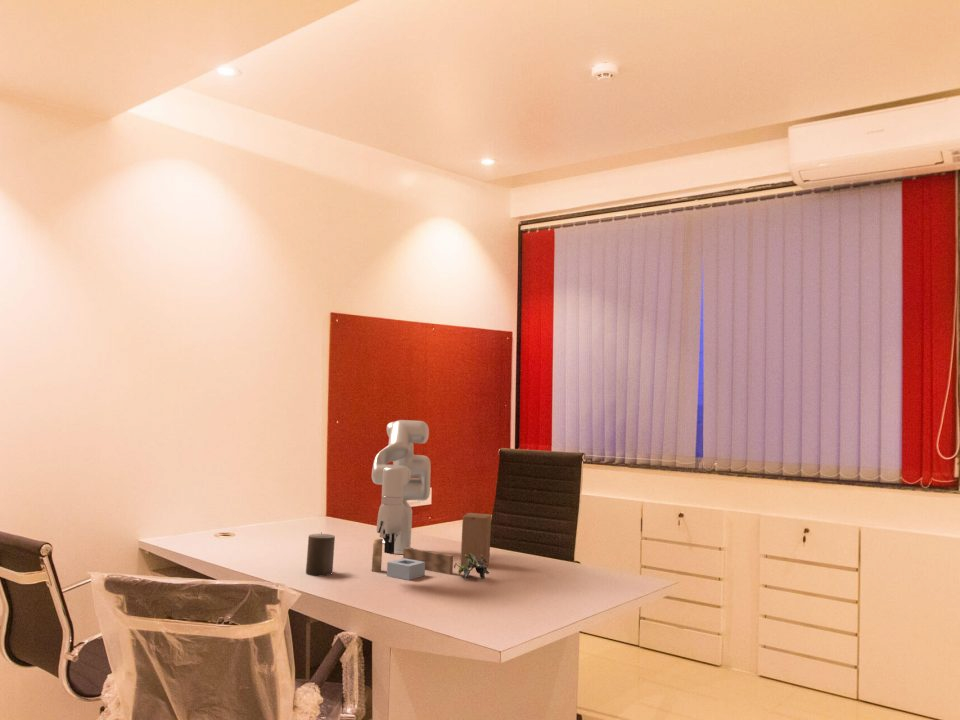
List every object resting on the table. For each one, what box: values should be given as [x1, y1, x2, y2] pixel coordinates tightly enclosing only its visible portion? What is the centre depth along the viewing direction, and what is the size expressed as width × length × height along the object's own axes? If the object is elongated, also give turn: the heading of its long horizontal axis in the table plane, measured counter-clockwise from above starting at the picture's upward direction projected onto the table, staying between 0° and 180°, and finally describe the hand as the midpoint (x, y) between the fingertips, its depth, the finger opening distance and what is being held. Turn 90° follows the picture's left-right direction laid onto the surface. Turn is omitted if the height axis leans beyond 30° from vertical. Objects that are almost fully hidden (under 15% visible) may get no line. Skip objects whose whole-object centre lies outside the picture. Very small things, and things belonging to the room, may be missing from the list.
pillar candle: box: [305, 532, 336, 576], centre depth 285 cm, size 10×10×15 cm
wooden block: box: [459, 512, 492, 568], centre depth 311 cm, size 10×10×20 cm
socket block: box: [386, 557, 426, 581], centre depth 285 cm, size 10×10×5 cm
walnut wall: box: [402, 547, 454, 575], centre depth 297 cm, size 22×2×7 cm, turn 59°
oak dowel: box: [371, 538, 384, 573], centre depth 291 cm, size 4×4×12 cm
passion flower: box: [453, 553, 490, 580], centre depth 286 cm, size 11×11×12 cm
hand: (389, 552), depth 276 cm, fingers closed
